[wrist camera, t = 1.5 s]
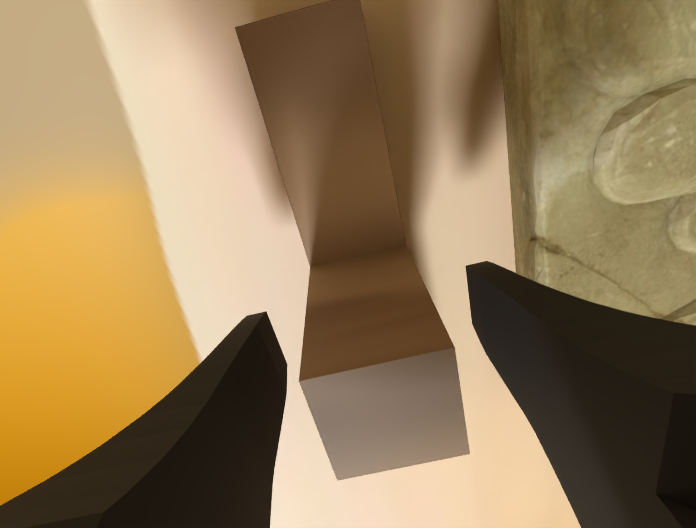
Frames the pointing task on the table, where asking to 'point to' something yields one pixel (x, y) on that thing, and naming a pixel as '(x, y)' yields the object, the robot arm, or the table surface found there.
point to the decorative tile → (604, 149)
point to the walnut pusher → (353, 249)
